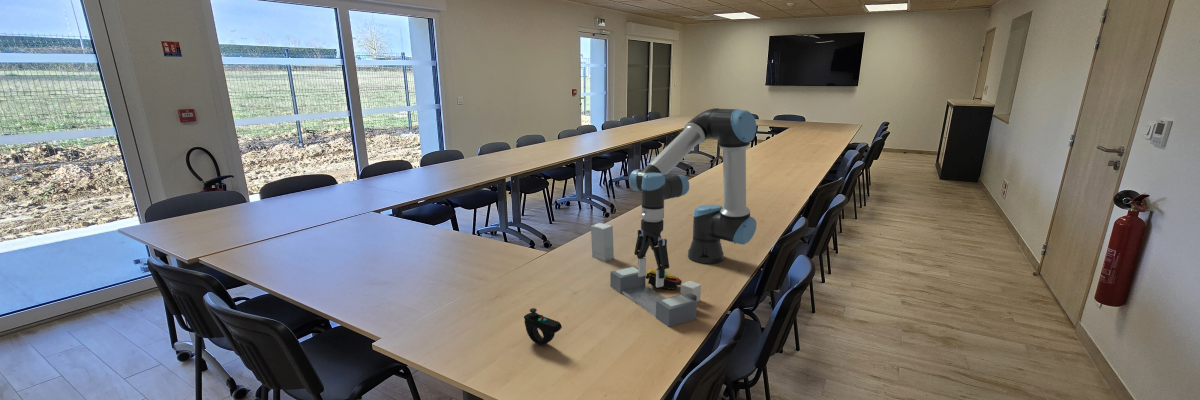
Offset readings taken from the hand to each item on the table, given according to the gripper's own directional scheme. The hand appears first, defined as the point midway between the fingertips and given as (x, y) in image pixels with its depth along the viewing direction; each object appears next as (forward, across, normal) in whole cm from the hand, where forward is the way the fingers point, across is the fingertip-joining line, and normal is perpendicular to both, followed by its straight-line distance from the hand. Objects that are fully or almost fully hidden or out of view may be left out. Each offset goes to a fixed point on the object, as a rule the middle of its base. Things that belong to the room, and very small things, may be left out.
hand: (650, 281), depth 174 cm
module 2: (+8, +14, 0) cm, 16 cm away
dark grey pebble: (+8, +12, +8) cm, 16 cm away
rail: (+8, 0, 0) cm, 8 cm away
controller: (+8, +8, -44) cm, 45 cm away
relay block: (+8, +6, +13) cm, 16 cm away
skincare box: (+8, -46, +7) cm, 47 cm away
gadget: (+9, -6, +13) cm, 17 cm away
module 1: (+8, -14, 0) cm, 16 cm away
